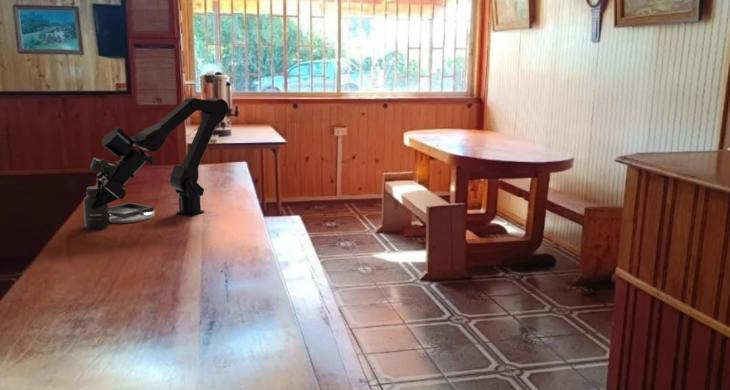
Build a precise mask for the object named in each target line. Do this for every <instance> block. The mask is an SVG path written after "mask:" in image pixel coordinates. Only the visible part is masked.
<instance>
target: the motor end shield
mask: <svg viewBox="0 0 730 390" xmlns="http://www.w3.org/2000/svg"><path fill="white" fill-rule="evenodd" d="M153 217H155V208H154V206H151V205H150V206H149V205H145V204H140V203H136V202H135V203H134V202H125V203H122V204H119V205H118V204H117V205H113V206H109V218H110V224H111V223H113V224H129V223H130V224H131V223H137V222H143V221H147V220H149V219H152V218H153Z"/></svg>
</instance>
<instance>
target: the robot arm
mask: <svg viewBox="0 0 730 390" xmlns="http://www.w3.org/2000/svg"><path fill="white" fill-rule="evenodd" d="M229 108H230V107H229V104H228V103H227V101H226V100H224V99H223V98H214V97H209V98H206V99H203V98H202V99H201V98H198V97H193V96H188V97H186V98H185V99H184V100H183V101H182V102H181V103H180V104H179V105H178V106H176V108H174V109H173V110H172V111H171V112H170V113H168V114H167V115H166V116H165V117H164V118H163V119H161V120H160V121H159V122H157V123H156V124H153V125H151V126H148V127H146V128H144V129H143V130H141V131H139V132H138V133H137V135H133V136H129V135H128V134H126V133H125V132H124V130H122V128H120V127H115V128H114V130H113V129H112V130H111V131H110V132H108V133H107V134H105V135H104V137H103V138H102V140H101V142H100V143H101V146H102V147H104V148H106V149H107V150H108V151H109V152H111V154H113V155H114V156H115V157H118V158H120V157H121V158H120V159H119V160H118V161H114V162H113V163H110V162H109V161H108V160H105V159H103V158H101V159H100V158H97V157H93V158H92V160H91V162H90V165H89V168H90V170H91V171H94V172H98V173H97V174H96V176H97V177H96V186H101V192H100V194H99V195H98V197H97V198H96V200H95V201H94V203H93V204H92V206H91V208H92V209H96V208H99V207H101V206H103V205H105V204H107V203H112V202H114V201H116V200H123V198H124V197H126V195H127V191H126V189H125V187H126V186H125V185H126V184H127V183H128V181H129V180H131V179H132V180H133V179H134V178H135V174H136V173H137V172H138V171H139V170H140V169H141V167H143V166H144V164H145V163H146V162H147V163H148V164H150V165H151V166H153V165H154V159H153V158H154V155H152V154H151V153H149V154H148V153H146V152H145V151H147V152H157V151H159V150H160V149H161V148H162V147H163V145H164V144H165V143H166V142H167V140H168V137H169V135H170V134H171V133H172V132H173V131H175V130H176V129H177V128H178V127H179V126H180V125H181V124H183V122H185V121H186V120H187V119H188V118H189V117H190V116H192V115H193V114H194V113H195V112H196V111H200V124H199V125H198V128H197V131H196V133H195V135H194V137H193V139H192V142H191V144H190V146H189V149H188V151H187V153H186V155H185V159H184V160H183V161H182V163H181V164H174V166H173V169H172V172H171V173H170V175H169V177H170V179H169V183H170V185H171V187H172V188H174V190H175V193H176V194H178V195H179V196H178V197H179V198H178V209H179V211H178V210H177V211H175V212H176V214H177V215H183V216H187V217H192V216H195V215H199V214H203V213H205V210H202V209H201V197H202V196H203V195H204V191H205V189H204V187H202V186H201V185H200V184H199V183H198V181H199V167H200V164H201V162H202V159H203V157H204V155H205V152H206V150H207V148H208V145H209V144H210V141H211V138H212V136H213V135H214V134H213V133H214V131H215V130H216V127H217V126H218V125H220V124H221V122H223V121H224V120H225V117H226V116H227V115H228V113H229V110H230V109H229ZM133 146H134V147H133ZM135 147H138V149H136V148H135Z"/></svg>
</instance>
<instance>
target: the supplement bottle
mask: <svg viewBox="0 0 730 390" xmlns="http://www.w3.org/2000/svg"><path fill="white" fill-rule="evenodd" d="M85 190H86V193H85V194H86V196H84V197H83V198H84V199H83V201H82V202H83V203H82V204H83V217H84V226H85V229H87V230H93V231H95V230H96V231H98V230H103V229H104V230H105V229H108V228H109V227H110V225H111V223H110V218H109V207H110V205H109V203H107V204H105V205H103V206H101V207H99V208H96V209H92V208H91V206H92V204H93V203H94V201H95V200H96V198H97V197H98V195H99V194H100V192H101V186H97V185H94V186H93V185H92V186H88V187H86V189H85Z"/></svg>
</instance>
